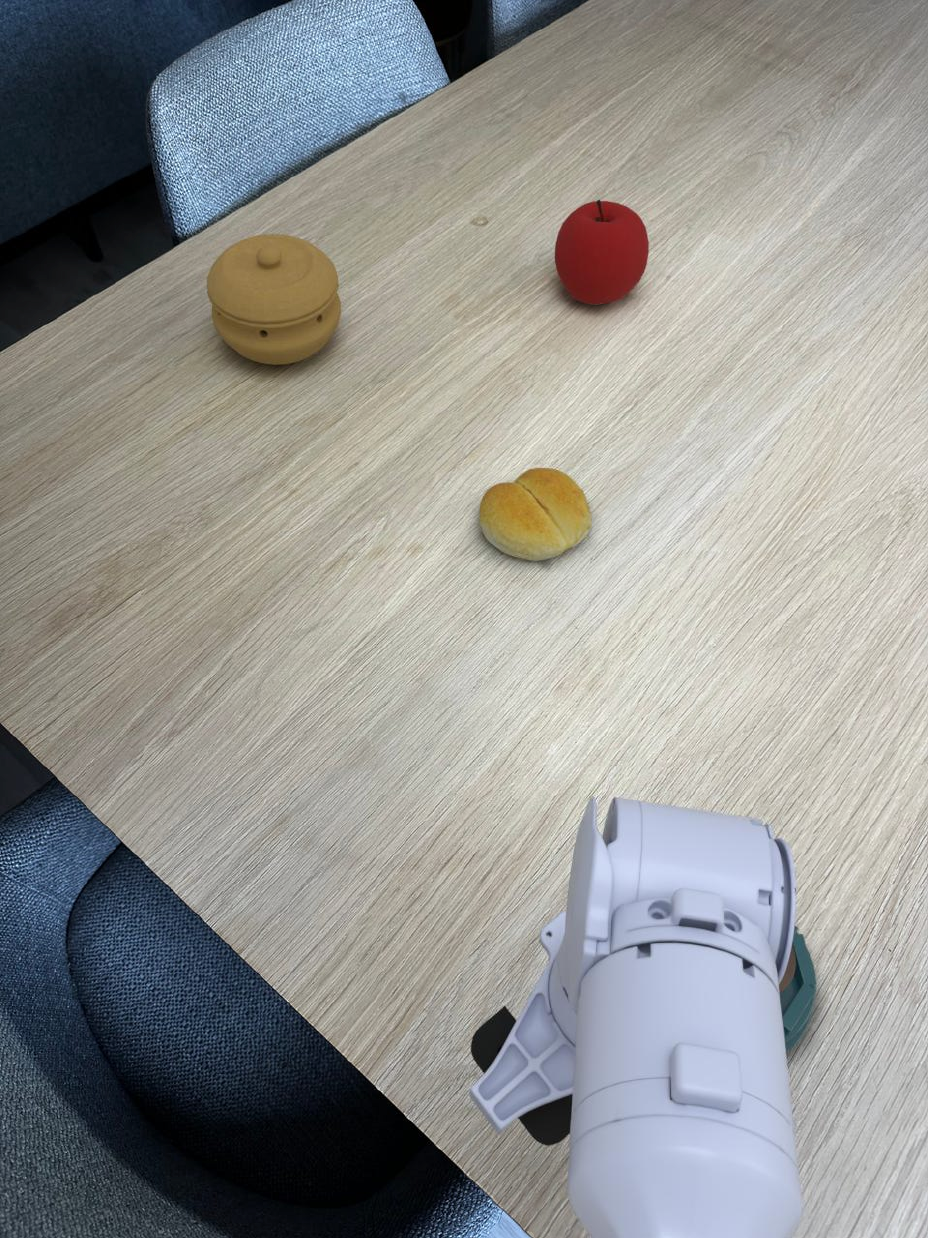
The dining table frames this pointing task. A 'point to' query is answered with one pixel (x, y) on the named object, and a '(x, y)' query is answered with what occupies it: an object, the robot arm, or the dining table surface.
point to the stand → (798, 994)
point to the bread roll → (535, 515)
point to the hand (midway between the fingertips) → (589, 1032)
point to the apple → (601, 252)
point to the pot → (274, 298)
